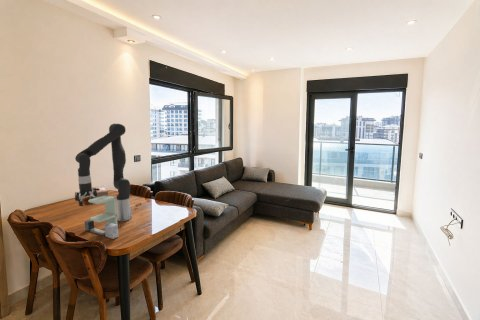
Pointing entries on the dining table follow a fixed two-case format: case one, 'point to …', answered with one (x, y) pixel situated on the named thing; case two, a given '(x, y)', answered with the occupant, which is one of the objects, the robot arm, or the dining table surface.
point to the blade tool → (92, 228)
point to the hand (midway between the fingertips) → (87, 204)
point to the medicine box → (111, 230)
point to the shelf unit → (106, 209)
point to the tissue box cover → (100, 191)
